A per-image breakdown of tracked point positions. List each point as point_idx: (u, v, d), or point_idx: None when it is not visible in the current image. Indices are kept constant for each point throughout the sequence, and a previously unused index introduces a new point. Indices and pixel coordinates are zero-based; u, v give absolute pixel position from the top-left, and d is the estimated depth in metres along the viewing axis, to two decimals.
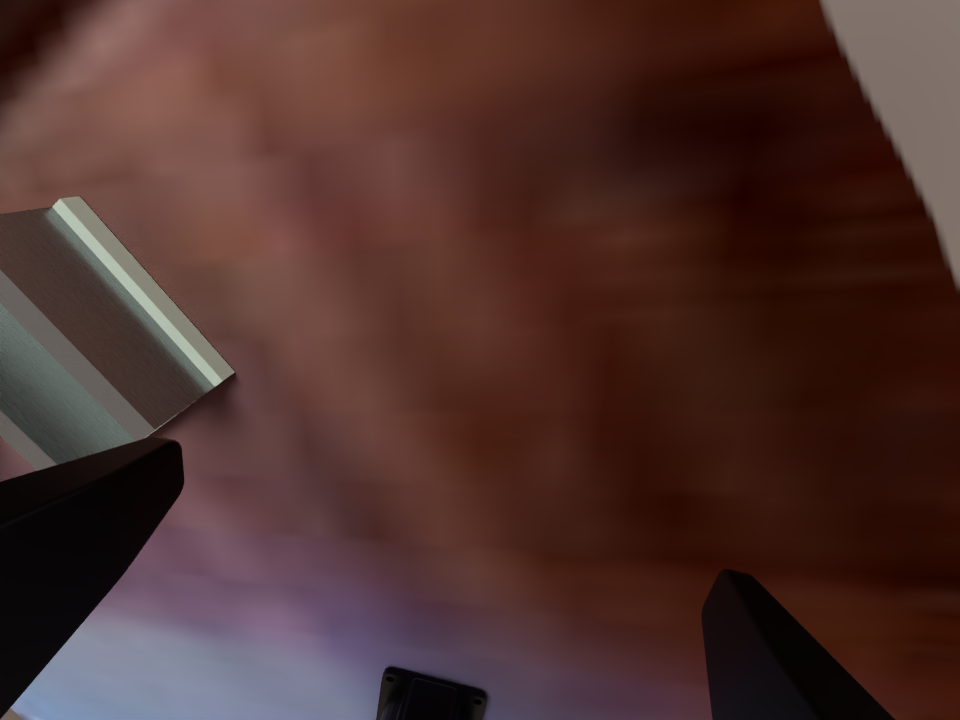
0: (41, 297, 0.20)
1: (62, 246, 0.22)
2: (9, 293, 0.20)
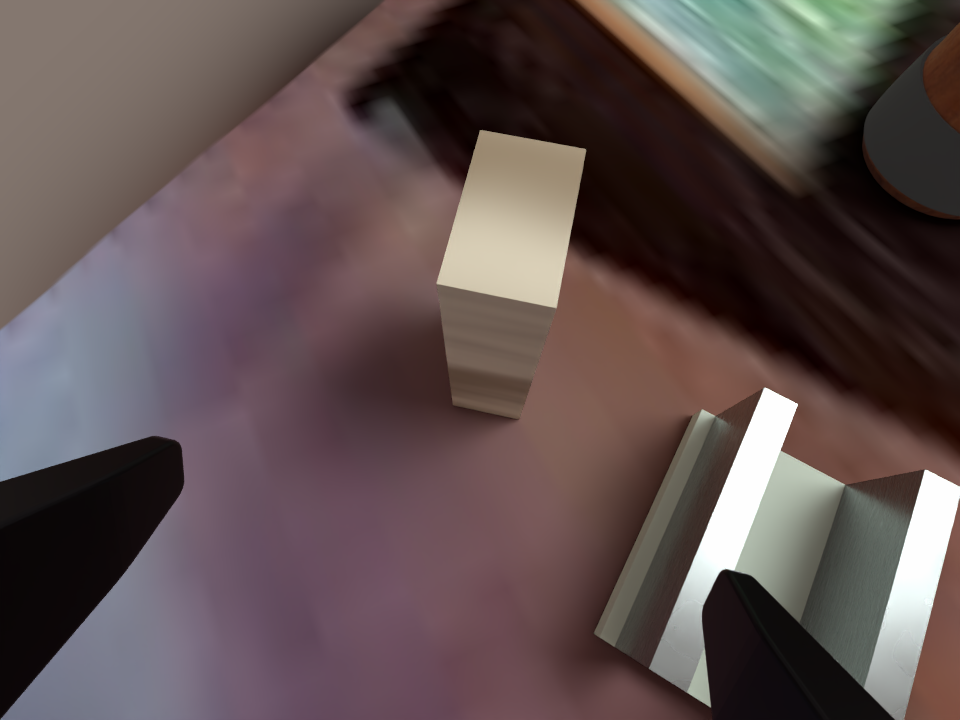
0: None
1: None
2: (925, 560, 0.16)
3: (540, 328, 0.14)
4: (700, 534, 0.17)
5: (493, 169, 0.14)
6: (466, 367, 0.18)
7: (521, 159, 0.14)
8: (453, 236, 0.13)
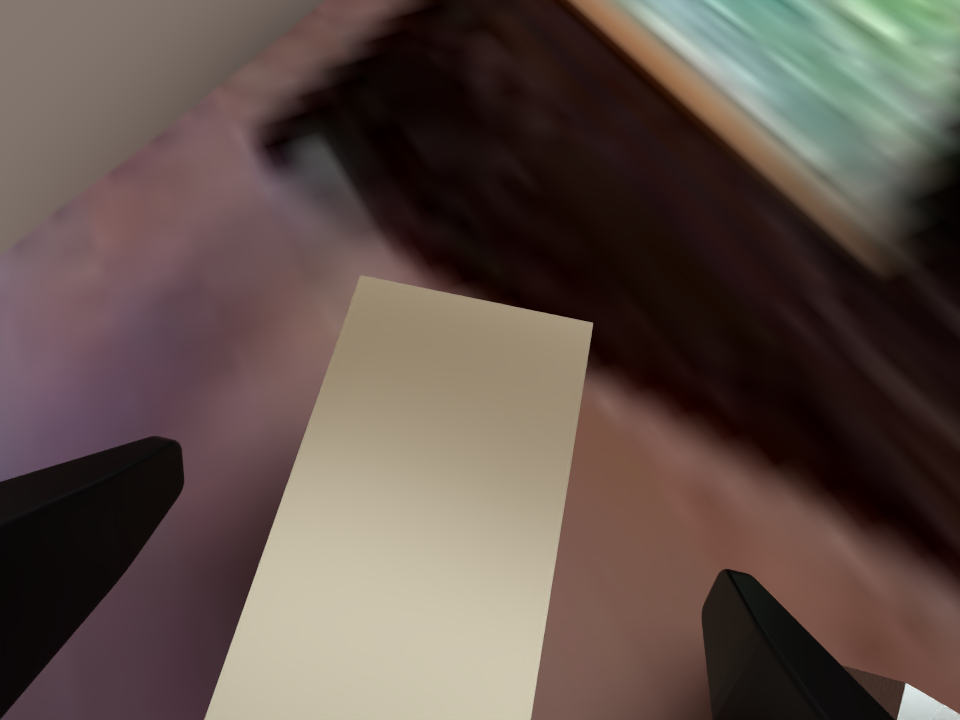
0: None
1: None
2: None
3: None
4: None
5: (380, 376, 0.06)
6: None
7: (447, 350, 0.06)
8: (264, 571, 0.05)
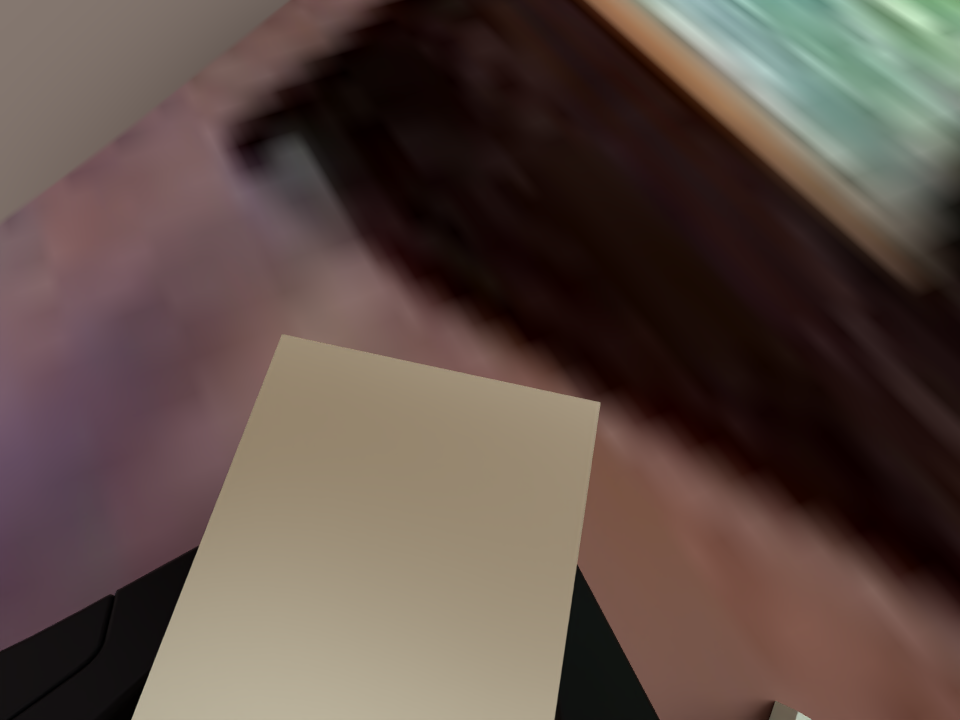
0: None
1: None
2: None
3: None
4: None
5: (302, 484, 0.04)
6: None
7: (398, 444, 0.05)
8: None
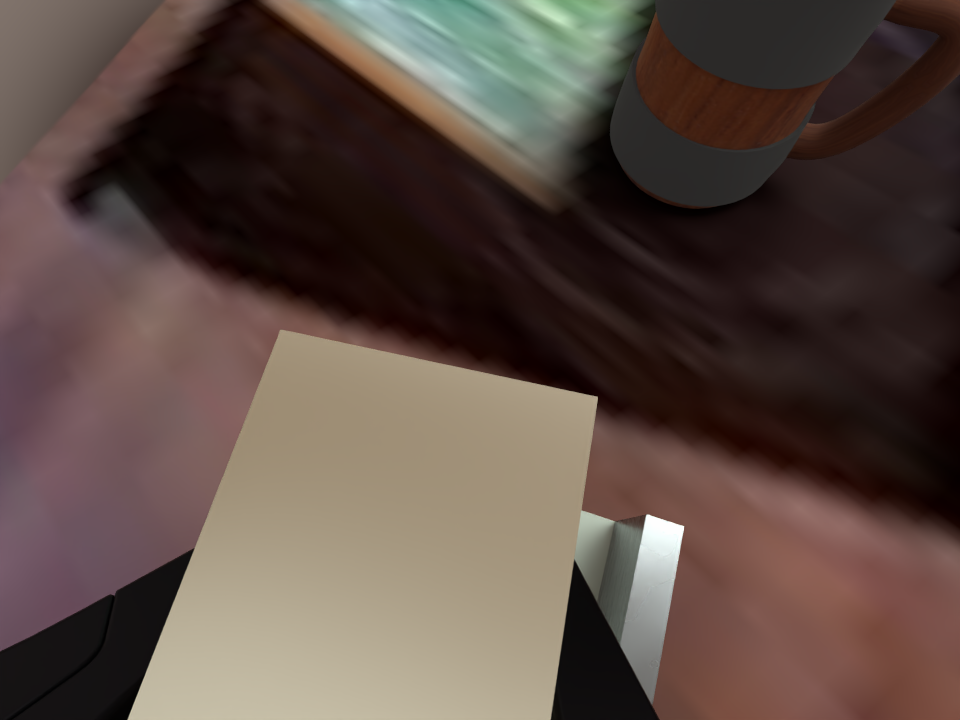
0: None
1: None
2: (649, 617, 0.16)
3: None
4: None
5: (300, 478, 0.04)
6: None
7: (396, 438, 0.05)
8: None
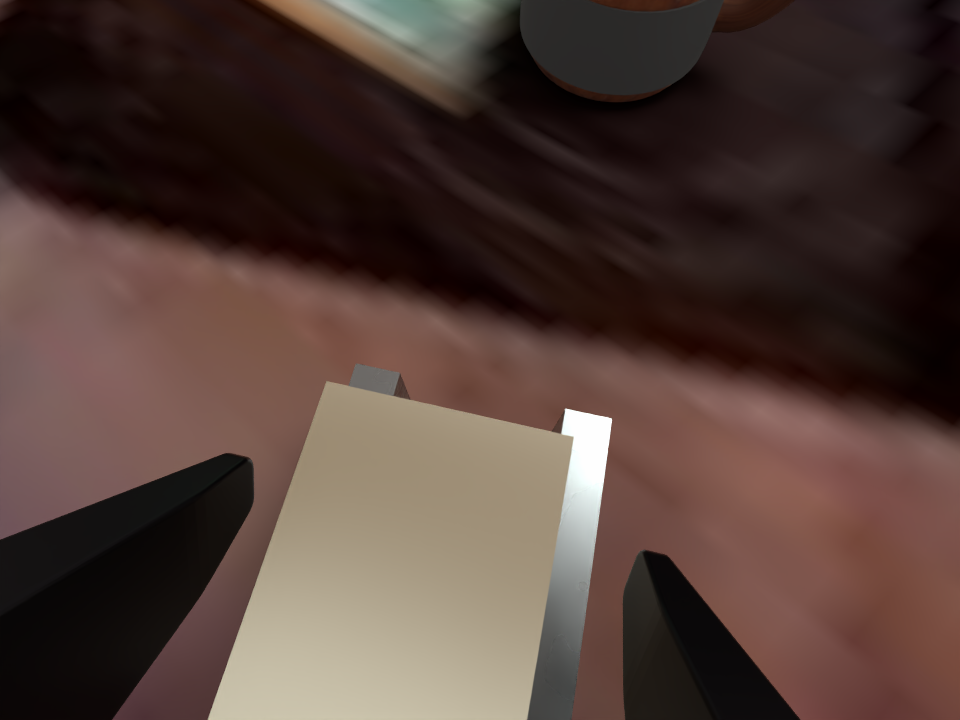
0: None
1: None
2: (574, 529, 0.12)
3: None
4: None
5: (345, 499, 0.06)
6: None
7: (418, 468, 0.06)
8: None
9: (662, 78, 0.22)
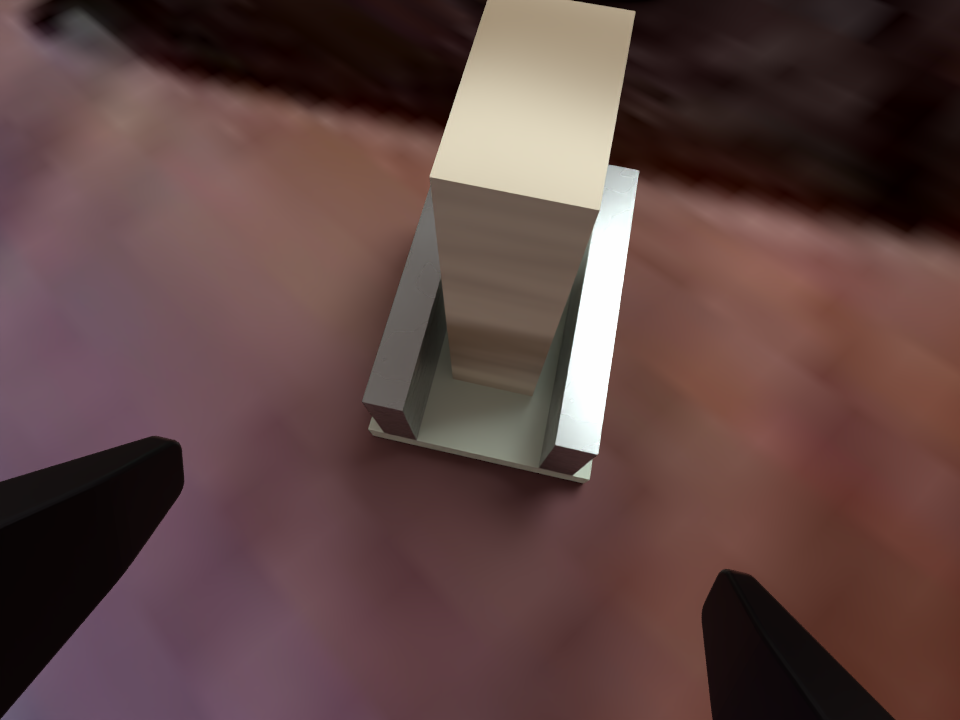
0: None
1: None
2: (613, 237, 0.17)
3: (573, 249, 0.10)
4: (404, 277, 0.17)
5: (509, 34, 0.10)
6: (469, 322, 0.14)
7: (548, 23, 0.11)
8: (454, 116, 0.10)
9: None
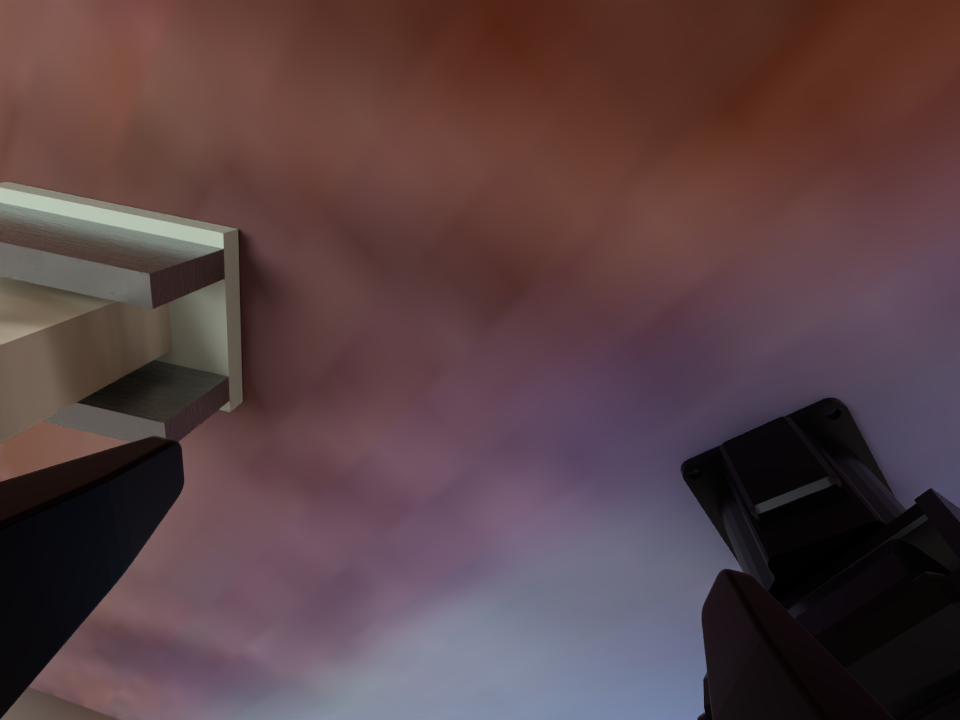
0: None
1: (2, 211, 0.20)
2: None
3: None
4: (66, 421, 0.20)
5: None
6: (61, 391, 0.17)
7: None
8: None
9: None
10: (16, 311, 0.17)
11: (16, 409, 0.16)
